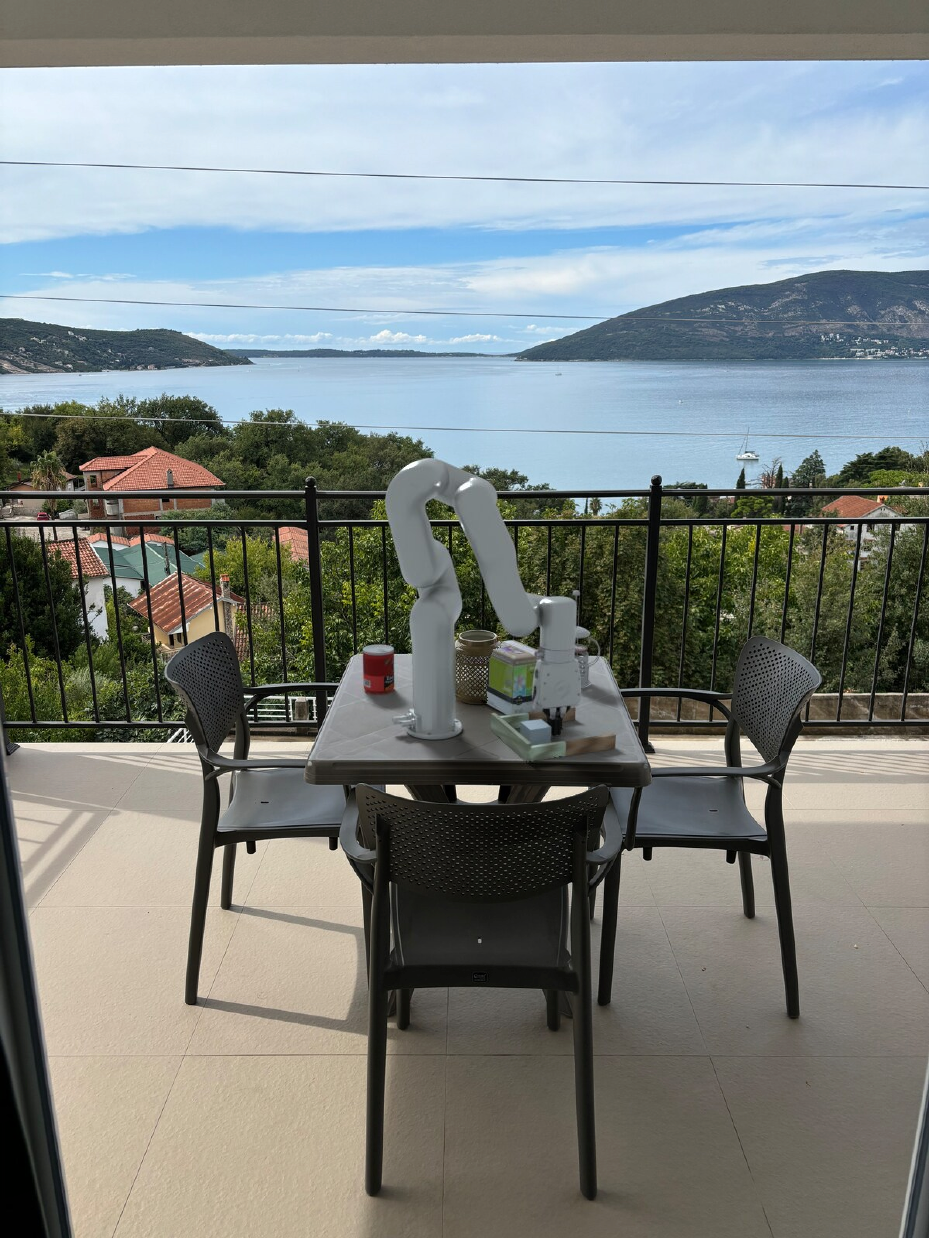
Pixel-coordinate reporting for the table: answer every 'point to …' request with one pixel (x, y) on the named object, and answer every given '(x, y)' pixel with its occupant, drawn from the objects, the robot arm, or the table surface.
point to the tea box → (511, 678)
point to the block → (536, 731)
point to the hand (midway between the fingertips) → (554, 733)
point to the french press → (583, 652)
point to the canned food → (378, 669)
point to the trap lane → (524, 748)
